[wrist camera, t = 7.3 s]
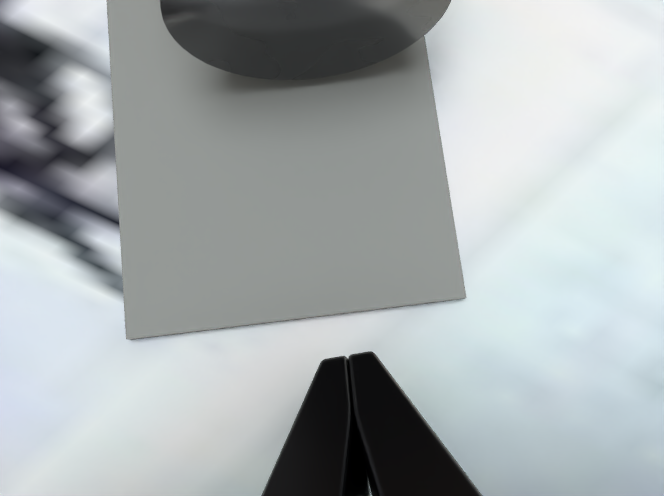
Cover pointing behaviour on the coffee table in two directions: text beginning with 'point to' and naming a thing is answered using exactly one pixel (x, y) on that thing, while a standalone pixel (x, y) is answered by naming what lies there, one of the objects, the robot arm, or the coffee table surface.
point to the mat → (273, 187)
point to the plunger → (298, 33)
